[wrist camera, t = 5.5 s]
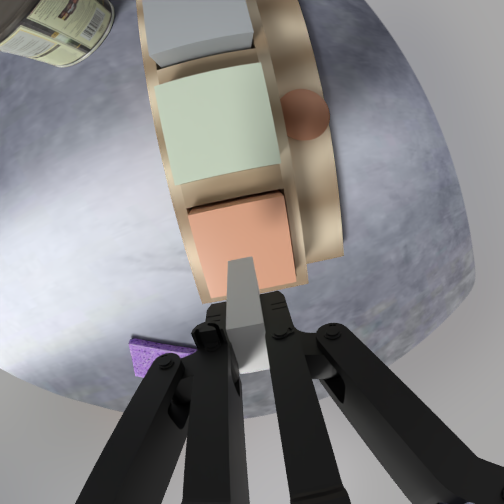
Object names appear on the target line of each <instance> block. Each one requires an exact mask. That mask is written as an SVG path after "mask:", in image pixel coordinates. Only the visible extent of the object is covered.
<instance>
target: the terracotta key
mask: <svg viewBox="0 0 504 504" xmlns="http://www.w3.org/2000/svg"><path fill="white" fill-rule="evenodd" d="M188 219H189V223H190V227H191V231H192V234H193V238H194V242H195V245H196V249H197V252H198V256H199V259H200V263H201V266H202V270H203V273H204V277H205V280H206V283H207V287H208V290H209V293H210V297H211V298H216V297H222V296H227V272H228V261H231V260H236V259H241V258H246V257H251V256H252V257H253V262H254V267H255V271H256V276H257V281H258V286H259V289H264V288H269V287H274V286H279V285H284V284H289V283H293V282H296V274H295V267H294V259H293V252H292V245H291V238H290V232H289V225H288V219H287V212H286V206H285V200H284V196H283V194H282V193H281V192H280V191H279V190H278V189H277V190H272V191H266V192H261V193H256V194H251V195H246V196H241V197H236V198H231V199H226V200H221V201H217V202H212V203H208V204H203V205H199V206H194V207H193V208H192V210H191V211H190V213H189V214H188Z"/></svg>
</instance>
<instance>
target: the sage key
mask: <svg viewBox="0 0 504 504" xmlns="http://www.w3.org/2000/svg"><path fill="white" fill-rule="evenodd" d="M154 89H155V94H156V100H157V105H158V110H159V116H160V121H161V126H162V130H163V135H164V140H165V144H166V149H167V154H168V158H169V162H170V167H171V171H172V175H173V179H174V184H175V186H176V185H180V184H184V183H188V182H192V181H196V180H200V179H204V178H209V177H213V176H218V175H222V174H227V173H232V172H237V171H242V170H247V169H252V168H257V167H263V166H268V165H274V164H280V163H281V159H280V153H279V148H278V142H277V137H276V132H275V126H274V121H273V116H272V111H271V106H270V102H269V97H268V92H267V87H266V83H265V78H264V74H263V69H262V65H261V62H260V63H252V64H246V65H240V66H234V67H228V68H223V69H218V70H213V71H209V72H204V73H200V74H196V75H192V76H188V77H184V78H180V79H177V80H173V81H170V82H167V83H163V84H160V85H157V86H154Z"/></svg>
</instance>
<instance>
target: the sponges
mask: <svg viewBox="0 0 504 504" xmlns="http://www.w3.org/2000/svg"><path fill="white" fill-rule="evenodd" d="M129 348H130V352H131V357H132V360H133V366H134V371H135V376H139V377H143V378H144V377H145V375H146V373H147V371H148V370H149V368H150V366H151V365H152V363H153V361H154V360H155V359H156V358H157V357H159V356H160V355H162V354H165V353H175V354H177V355H179V356H180V358H183V357H185V356H188V355H191V354H193V353H194V352H196V351H197V349H193V348H188V347H181V346H174V345H168V344H162V343H156V342H151V341H146V340H141V339H136V338H134V339H133V340H131V339H130V341H129Z"/></svg>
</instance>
